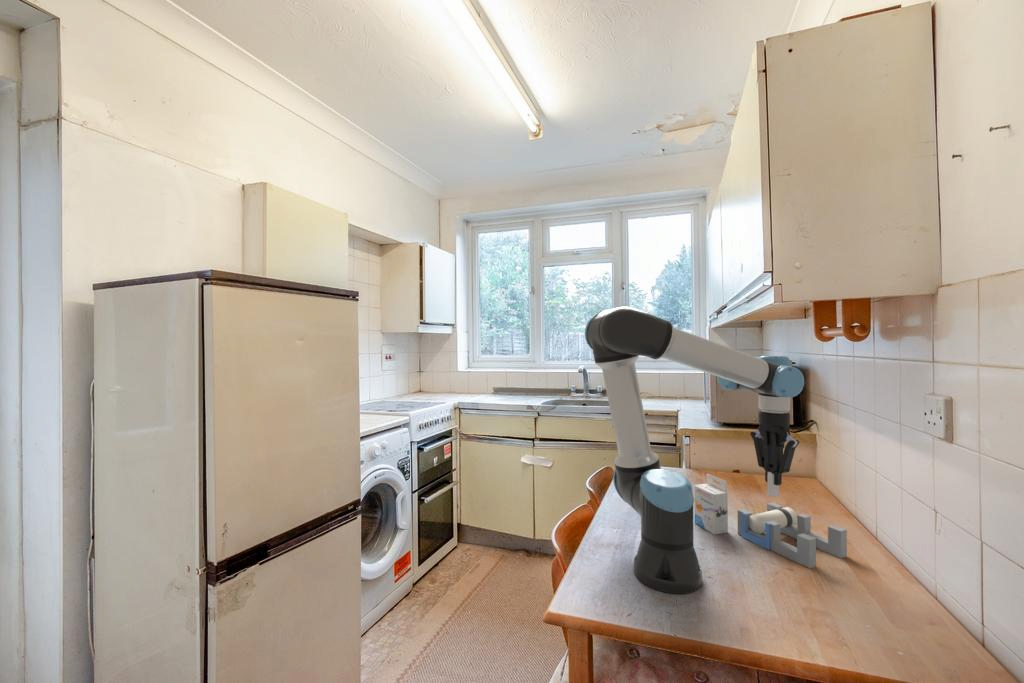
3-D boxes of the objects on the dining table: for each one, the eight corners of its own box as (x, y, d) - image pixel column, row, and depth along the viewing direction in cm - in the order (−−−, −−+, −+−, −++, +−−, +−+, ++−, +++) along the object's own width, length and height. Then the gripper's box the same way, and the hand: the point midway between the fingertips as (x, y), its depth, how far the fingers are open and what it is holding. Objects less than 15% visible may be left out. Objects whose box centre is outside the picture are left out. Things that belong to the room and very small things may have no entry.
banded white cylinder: (766, 535, 114) (761, 516, 115) (750, 532, 118) (746, 513, 119) (799, 526, 119) (795, 508, 120) (783, 524, 123) (779, 506, 124)
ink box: (693, 523, 129) (693, 474, 129) (707, 520, 130) (706, 472, 130) (714, 535, 121) (714, 483, 121) (728, 532, 122) (728, 481, 122)
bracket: (807, 568, 103) (807, 540, 103) (736, 534, 121) (736, 510, 121) (848, 555, 108) (848, 529, 108) (774, 524, 127) (774, 502, 127)
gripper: (806, 413, 114) (805, 501, 114) (762, 406, 126) (761, 486, 126) (787, 415, 111) (786, 505, 111) (743, 408, 123) (742, 489, 123)
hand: (773, 495), depth 118 cm, fingers closed
